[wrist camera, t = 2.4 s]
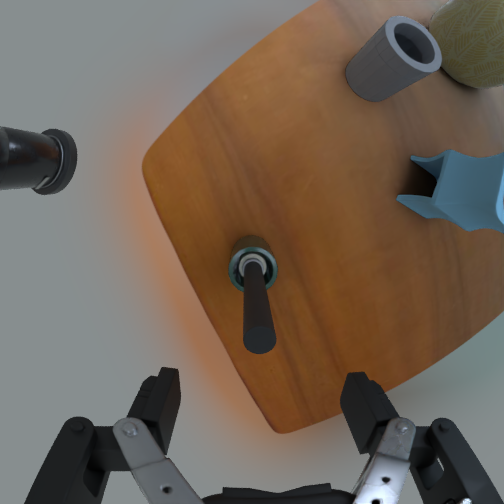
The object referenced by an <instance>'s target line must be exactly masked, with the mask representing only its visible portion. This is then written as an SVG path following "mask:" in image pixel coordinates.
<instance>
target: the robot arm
mask: <svg viewBox="0 0 504 504" xmlns="http://www.w3.org/2000/svg"><path fill="white" fill-rule="evenodd" d="M64 160H65V152H64V147H63V144H62V142H61V141H60V140H59V139H58V138H57V137H55V136H52V135H44V134H40V133H34V132H29V131H23V130H18V129H13V128H7V127H1V126H0V190H8V189H20V188H36V187H37V188H36V189H39V188H46V187H49V186H51V185H52V184H54V183H55V182H56V180H57V179H58V178H59V176H60V174H61V172H62V169H63V166H64ZM180 401H181V392H180V381H179V371H178V369H175V368H167V367H162V368H161V370H160V372H159V375H158V377H156V376H150V377H148V378H147V379H146V380H145V381H144V382H143V383H142V385H141V387H140V390H139V392H138V394H137V396H136V398H135V400H134V402H133V404H132V406H131V409H130V411H129V413H128V415H127V417H126V418H123V419H121V420H119V421H117V422H116V423H115V425H114V426H108V427H107V426H105V427H104V426H94V425H93V423H92V422H91V421H90V420H89V419H87V418H84V417H73V418H70V419H68V420H67V421H66V422H65V423H64V425H63V427H62V429H61V430H60V433H59V434H58V436H57V438H56V440H55V441H54V443H53V446H52V447H51V449H50V451H49V453H48V455H47V457H46V459H45V461H44V463H43V465H42V467H41V469H40V471H39V473H38V475H37V477H36V479H35V481H34V483H33V485H32V487H31V489H30V492H29V494H28V496H27V498H26V501H25V503H24V504H101V501H102V498H103V495H104V491H105V488H106V485H107V481H108V478H109V475H110V472H111V471H131V473H132V475H133V477H134V479H135V481H136V482H137V484H138V486H139V488H140V490H141V491H142V493H143V495H144V496H145V498H146V500H147V501H148V503H149V504H397V501H398V499H399V496H400V493H401V491H402V488H403V485H404V482H405V479H406V476H407V473H408V470H409V469H410V472H411V474H412V476H413V479H414V481H415V483H416V485H417V488H418V490H419V493H420V495H421V498H422V500H423V503H424V504H504V503H503V501H502V499H501V497H500V496H499V494H498V492H497V490H496V488H495V487H494V485H493V483H492V482H491V480H490V478H489V476H488V475H487V473H486V472H485V470H484V468H483V467H482V465H481V463H480V462H479V460H478V458H477V457H476V455H475V454H474V452H473V451H472V449H471V448H470V446H469V444H468V443H467V441H466V440H465V438H464V437H463V435H462V434H461V432H460V431H459V429H458V428H457V426H456V425H455V424H454V422H452V421H451V420H449V419H446V418H438V419H435V420H434V421H433V422H432V424H431V426H428V427H427V426H426V427H425V426H423V427H422V426H421V427H419V426H415V425H414V423H413V422H412V421H410V420H409V419H407V418H402V417H399V415H398V413H397V412H396V410H395V408H394V407H393V405H392V404H391V402H390V400H389V399H388V397H387V395H386V394H385V392H384V391H383V389H382V388H381V386H380V385H379V384H377V383H376V382H375V381H373V380H371V381H370V380H369V379H368V377H367V376H366V374H365V372H353V373H348V375H347V377H346V381H345V384H344V387H343V391H342V394H341V398H340V405H341V409H342V411H343V413H344V416H345V418H346V421H347V423H348V426H349V428H350V431H351V433H352V435H353V438H354V440H355V443H356V445H357V448H358V451H359V453H360V454H365V453H369V455H370V457H369V459H368V461H367V463H366V465H365V467H364V469H363V471H362V473H361V475H360V477H359V479H358V481H357V483H356V485H355V486H354V488H353V490H352V491H351V493H349V492H346V491H342V490H335V489H331V485H330V483H325V484H318V485H309V486H303V487H300V488H296V489H293V490H289V491H285V492H282V493H273V492H268V491H262V490H256V489H251V488H228V487H223V493H221V494H215V495H211V496H207V497H205V498H203V499H200V497H199V496H198V495H197V494H196V492H195V491H194V490H193V489H192V488H191V486H190V485H189V483H188V482H187V481H186V480H185V478H184V477H183V476H182V474H181V473H180V472H179V470H178V469H177V467H176V466H175V465H174V463H173V462H172V461H171V459H170V458H166V457H165V455H167V451H168V448H169V444H170V440H171V436H172V432H173V429H174V425H175V421H176V417H177V413H178V410H179V406H180ZM438 458H439V459H440V461H441V463H442V465H443V468H444V471H443V470H442V468H441V466H440V464H439V462H438V460H437V459H438Z"/></svg>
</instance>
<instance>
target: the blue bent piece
mask: <svg viewBox="0 0 504 504" xmlns="http://www.w3.org/2000/svg"><path fill="white" fill-rule="evenodd" d="M410 159H411V160H412V161H414V162H415V163H416V164H418V165H419V166H421V167H422V168H424V169H425V170H426V171H428V172H429V173H431V174H432V175H433V176H434V177H435V178H436V180H437V185H436V188H435V190H434V193H433V196H432V198H431V197H426V196H419V195H398V196H397V199H396V200H397V201H398V202H400V203H402V204H403V205H405V206H407V207H408V208H410V209H412V210H413V211H415V212H416V213H418V214H420V215H421V216H423V217H425V218H442V219H446V220H449V221H451V222H453V223H455V224H456V225H458V226H460V227H461V228H463V229H464V230H466V231H473V230H476V229H480V228H490V229H494V230H497V231H500V232H502V233H503V234H504V209H503V196H504V152H503V153H500V154H497V155H494V156H490V157H484V158H476V157H470V156H467V155H464V154H461V153H459V152H456V151H454V150H451V149H450V150H446V151H444V152H442V153H441V154H439V155H437V156H434V157H431V158H422V157H417V156H414V155H411V158H410Z"/></svg>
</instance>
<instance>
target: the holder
mask: <svg viewBox="0 0 504 504" xmlns="http://www.w3.org/2000/svg"><path fill="white" fill-rule="evenodd" d="M250 251H255V252H260V253H262V254H264V258H265V261H266V266H267V268H266V272H265V274H264V275H263V276H264V281H265V286H266V290H267V289H268V288H270V287H271V286H272V285H273V283H274V282H275V280H276V278H277V272H278V266H277V263H276V260H275V258H274V255H273V253H272V251H271V248H270V246H269V245H268V243H267V242H266V241H265V240H264V239H262V238H261V237H258V236H254V235H249V236H245V237H242V238H241V239H239V240H238V241H237V242H236V243H235V245H234V247H233V249H232V253H231V257H230V262H229V272H228V274H229V277H230V280H231V282H232V284H233V285H234V286H235V287H236V288H237V289H238V290H240V291H242V292H244V277H243V276H242V275H241V273H240V271H239V258H240V256H241V255H242V254H244V253H247V252H250Z"/></svg>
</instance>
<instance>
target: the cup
mask: <svg viewBox="0 0 504 504" xmlns="http://www.w3.org/2000/svg"><path fill="white" fill-rule="evenodd" d="M441 62H442V56H441V51H440V48H439V46H438V44H437V42H436V40H435V39H434V37H433V36H432V35H431V34H430V32H429V31H427V30H426V29H425V28H424V27H423V26H422V25H420V24H419V23H418V22H416V21H414V20H412V19H410V18H407V17H403V16H394V17H391V18H390V19H388V20H387V21H386V22H385V23H384V25H383V26H382V27H381V28H380V29H379V30H378V31H377V32H376V33H375V34H374V35H373V36H372V37H371V39H370V40H369V41H368V42H367V43H366V44H365V45H364V46H363V47H362V48H361V50H360V51H359V52H358V53H357V54H356V55H355V56H354V57H353V59H352V60H351V61H350V62H349V63H348V65H347V67H346V79H347V82H348V84H349V85H350V87H351V88H352V90H353V91H354V92H355V93H356V94H357V95H359V96H360V97H362V98H363V99H366V100H368V101H372V102H379V101H382V100H384V99H386V98H388V97H390V96H392V95H393V94H395V93H397V92H399V91H400V90H402V89H404V88H406V87H408V86H409V85H411V84H413V83H415V82H417V81H418V80H420V79H422V78H424V77H426V76H428V75H429V74H431V73H433V72H435V71H437V70H438V69H439V68H440V66H441Z"/></svg>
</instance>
